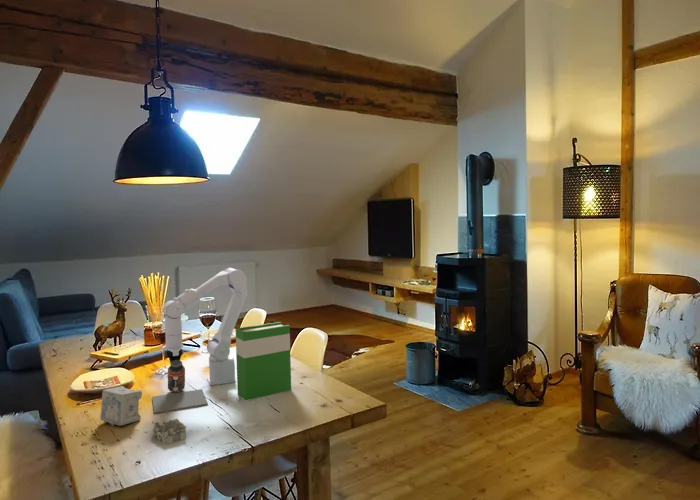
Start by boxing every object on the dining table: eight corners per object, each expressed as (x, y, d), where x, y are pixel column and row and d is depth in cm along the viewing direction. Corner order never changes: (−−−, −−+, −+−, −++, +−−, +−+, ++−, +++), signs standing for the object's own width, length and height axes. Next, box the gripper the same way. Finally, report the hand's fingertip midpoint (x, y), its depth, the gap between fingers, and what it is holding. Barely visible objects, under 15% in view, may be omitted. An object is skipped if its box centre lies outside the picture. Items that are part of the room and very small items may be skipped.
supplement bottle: (179, 395, 180) (179, 370, 175) (164, 390, 181) (163, 366, 176) (188, 384, 185) (188, 360, 180) (173, 380, 186) (173, 356, 181)
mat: (202, 390, 183) (201, 389, 183) (207, 405, 169) (207, 403, 169) (152, 398, 176) (152, 396, 176) (154, 414, 162) (154, 412, 162)
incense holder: (143, 419, 159) (142, 387, 158) (121, 429, 151) (119, 396, 150) (122, 413, 163) (121, 382, 162) (99, 423, 156) (98, 391, 155)
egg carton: (150, 434, 148) (150, 421, 148) (175, 427, 153) (175, 414, 153) (163, 447, 140) (162, 432, 140) (189, 438, 145) (188, 425, 144)
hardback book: (282, 384, 188) (280, 321, 186) (291, 389, 182) (289, 325, 180) (237, 394, 179) (235, 328, 177) (245, 400, 173) (243, 332, 171)
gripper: (161, 330, 187) (162, 365, 188) (163, 339, 174) (164, 377, 175) (180, 328, 190) (182, 363, 191) (184, 337, 177) (185, 374, 178)
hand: (175, 370), depth 183 cm, fingers closed
